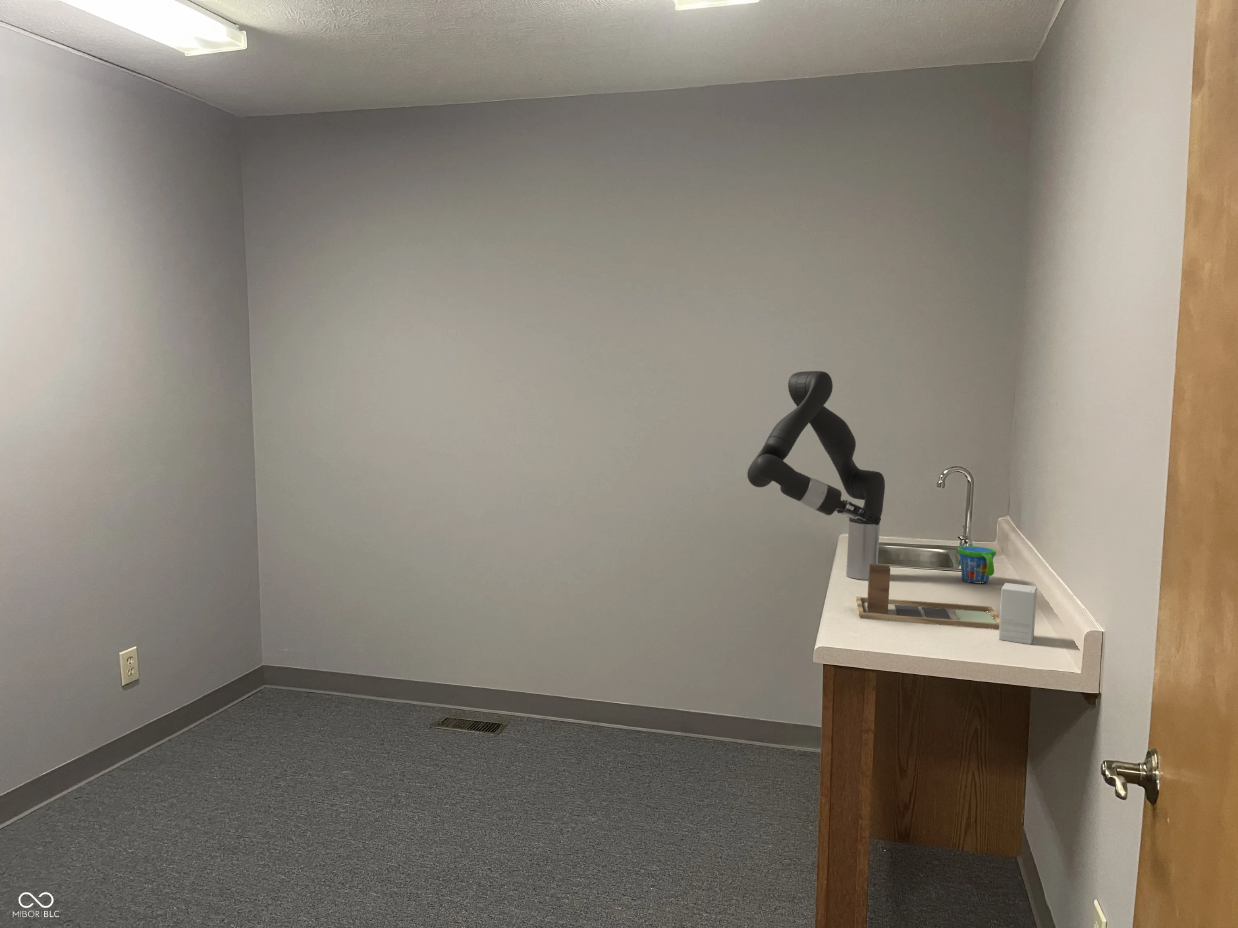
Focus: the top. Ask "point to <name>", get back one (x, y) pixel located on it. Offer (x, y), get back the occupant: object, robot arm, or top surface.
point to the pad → (974, 616)
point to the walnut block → (878, 588)
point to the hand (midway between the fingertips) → (873, 520)
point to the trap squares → (928, 612)
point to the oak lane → (931, 620)
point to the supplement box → (1017, 613)
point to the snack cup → (976, 563)
